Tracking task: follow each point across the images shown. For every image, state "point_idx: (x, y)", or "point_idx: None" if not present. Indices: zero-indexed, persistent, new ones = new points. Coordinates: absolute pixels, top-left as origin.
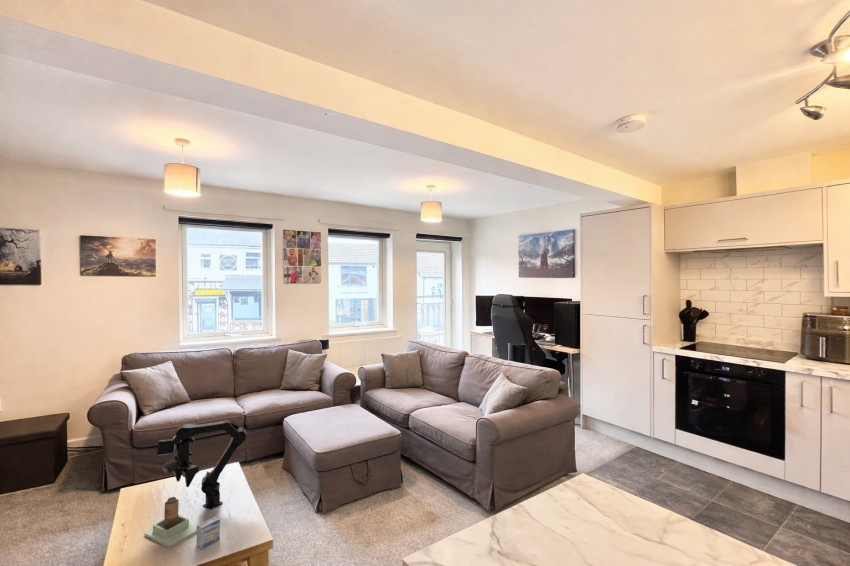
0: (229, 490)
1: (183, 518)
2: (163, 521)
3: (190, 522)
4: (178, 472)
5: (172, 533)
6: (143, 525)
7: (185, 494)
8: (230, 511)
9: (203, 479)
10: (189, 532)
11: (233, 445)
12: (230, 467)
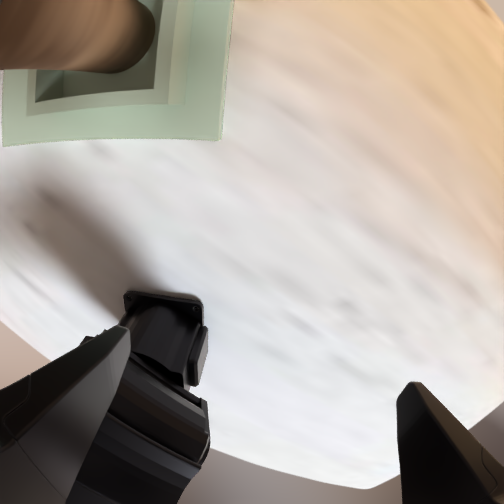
0: (221, 422)
1: (57, 99)
2: (165, 2)
3: (74, 138)
4: (439, 498)
5: None
6: (371, 8)
7: (413, 347)
8: (50, 305)
9: (149, 457)
10: (13, 86)
11: None
12: (362, 484)
